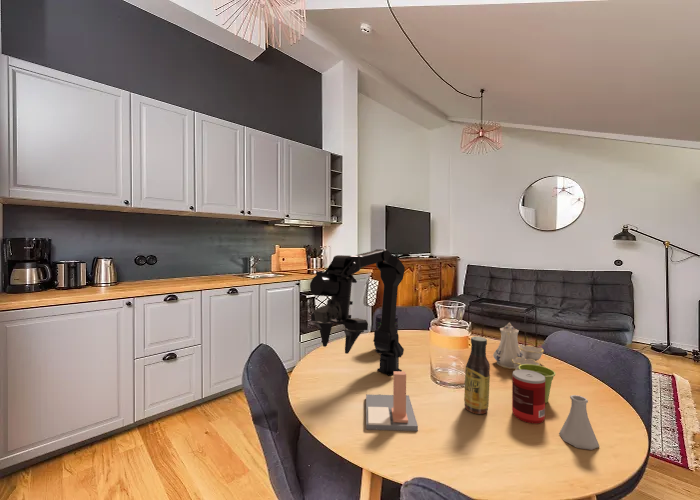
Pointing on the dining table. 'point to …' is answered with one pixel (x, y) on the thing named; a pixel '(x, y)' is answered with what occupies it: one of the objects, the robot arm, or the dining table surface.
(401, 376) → the stub
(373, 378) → the dining table surface
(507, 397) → the dining table surface
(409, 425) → the ticket board
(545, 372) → the plant pot
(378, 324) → the storage jar
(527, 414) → the canned food
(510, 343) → the chinaware
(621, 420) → the dining table surface
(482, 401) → the sauce bottle
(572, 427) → the flask
